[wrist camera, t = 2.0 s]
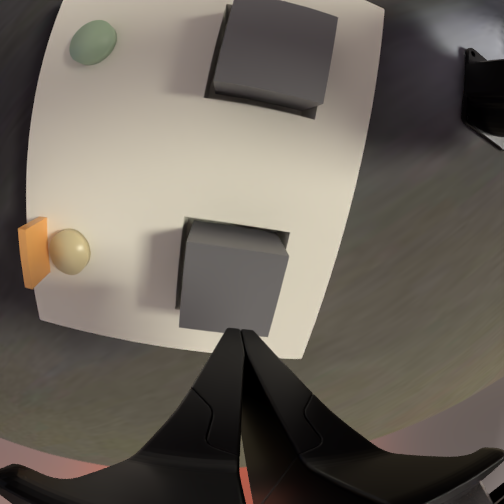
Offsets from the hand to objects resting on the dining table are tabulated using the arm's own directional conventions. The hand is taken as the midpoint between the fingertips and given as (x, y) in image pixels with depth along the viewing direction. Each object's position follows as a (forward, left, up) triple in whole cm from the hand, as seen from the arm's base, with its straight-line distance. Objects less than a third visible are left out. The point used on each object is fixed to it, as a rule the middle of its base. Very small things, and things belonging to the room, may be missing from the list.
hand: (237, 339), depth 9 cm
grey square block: (0, 0, -6) cm, 6 cm away
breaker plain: (0, -10, -6) cm, 12 cm away
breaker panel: (+3, -5, -8) cm, 10 cm away
